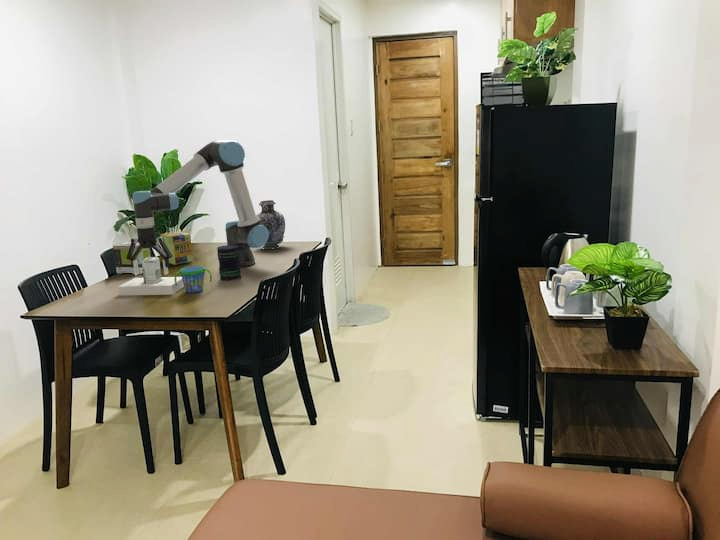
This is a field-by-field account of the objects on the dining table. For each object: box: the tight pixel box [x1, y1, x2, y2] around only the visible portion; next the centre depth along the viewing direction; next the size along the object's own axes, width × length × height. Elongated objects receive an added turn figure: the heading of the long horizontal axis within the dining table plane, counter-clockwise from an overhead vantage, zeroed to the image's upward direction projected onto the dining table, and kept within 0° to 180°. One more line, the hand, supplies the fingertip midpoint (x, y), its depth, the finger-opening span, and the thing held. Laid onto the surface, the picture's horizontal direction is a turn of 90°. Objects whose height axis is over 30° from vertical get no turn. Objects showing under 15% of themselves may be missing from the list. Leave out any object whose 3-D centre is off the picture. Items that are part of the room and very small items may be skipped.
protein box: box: [160, 231, 194, 266], centre depth 324 cm, size 10×15×16 cm
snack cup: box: [174, 265, 213, 294], centre depth 260 cm, size 16×10×10 cm
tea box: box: [112, 241, 152, 275], centre depth 304 cm, size 15×10×15 cm, turn 71°
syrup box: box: [142, 256, 162, 284], centre depth 264 cm, size 6×6×14 cm
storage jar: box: [216, 244, 242, 282], centre depth 281 cm, size 10×10×15 cm
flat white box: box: [117, 276, 185, 296], centre depth 265 cm, size 24×16×4 cm, turn 85°
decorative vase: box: [256, 199, 286, 250], centre depth 350 cm, size 21×19×28 cm
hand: (151, 274), depth 264 cm, fingers open, 13 cm apart
